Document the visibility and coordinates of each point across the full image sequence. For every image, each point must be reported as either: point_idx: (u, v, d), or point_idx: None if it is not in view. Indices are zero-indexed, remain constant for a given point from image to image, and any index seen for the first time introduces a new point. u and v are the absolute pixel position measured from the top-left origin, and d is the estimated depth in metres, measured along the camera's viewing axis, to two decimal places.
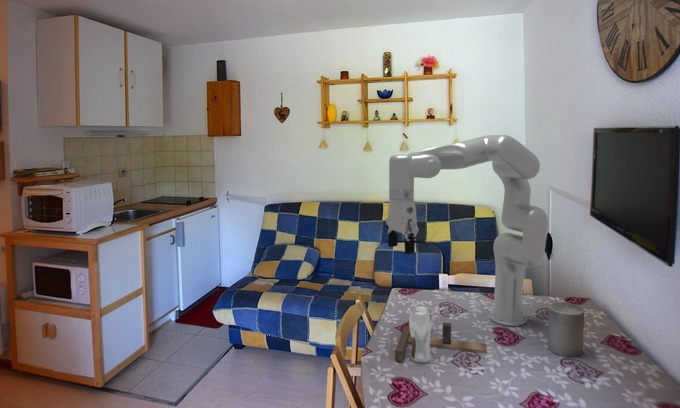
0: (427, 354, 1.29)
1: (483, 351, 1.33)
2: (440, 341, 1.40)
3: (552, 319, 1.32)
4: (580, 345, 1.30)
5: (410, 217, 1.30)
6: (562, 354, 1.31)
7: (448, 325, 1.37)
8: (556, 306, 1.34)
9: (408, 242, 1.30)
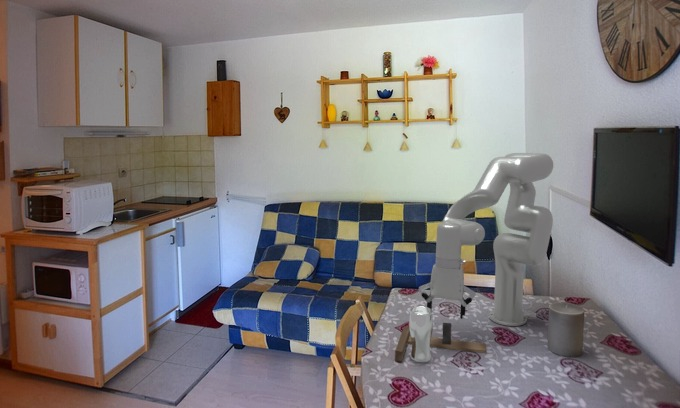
0: (427, 354, 1.29)
1: (483, 351, 1.33)
2: (440, 341, 1.40)
3: (552, 319, 1.32)
4: (580, 345, 1.30)
5: (463, 283, 1.34)
6: (562, 354, 1.31)
7: (448, 325, 1.37)
8: (556, 306, 1.34)
9: (464, 307, 1.34)
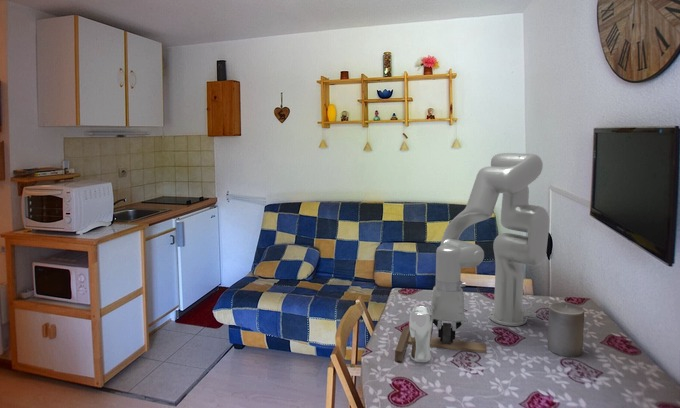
0: (427, 354, 1.29)
1: (483, 351, 1.33)
2: (440, 341, 1.40)
3: (552, 319, 1.32)
4: (580, 345, 1.30)
5: None
6: (562, 354, 1.31)
7: (448, 325, 1.37)
8: (556, 306, 1.34)
9: (454, 331, 1.37)
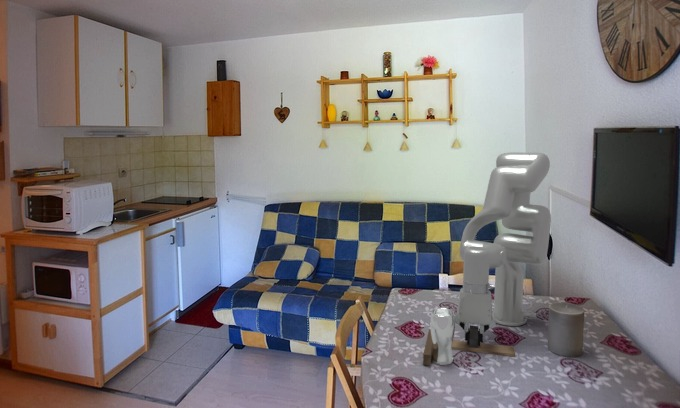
0: (449, 356, 1.27)
1: (512, 354, 1.31)
2: (466, 344, 1.37)
3: (552, 319, 1.32)
4: (580, 345, 1.30)
5: None
6: (562, 354, 1.31)
7: (475, 328, 1.35)
8: (556, 306, 1.34)
9: (481, 334, 1.34)
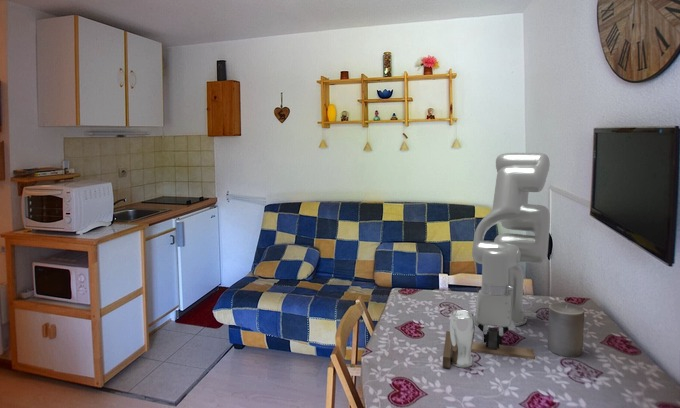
0: (469, 359, 1.26)
1: (532, 357, 1.29)
2: (485, 346, 1.36)
3: (552, 319, 1.32)
4: (580, 345, 1.30)
5: None
6: (562, 354, 1.31)
7: (494, 330, 1.33)
8: (556, 306, 1.34)
9: (500, 336, 1.33)
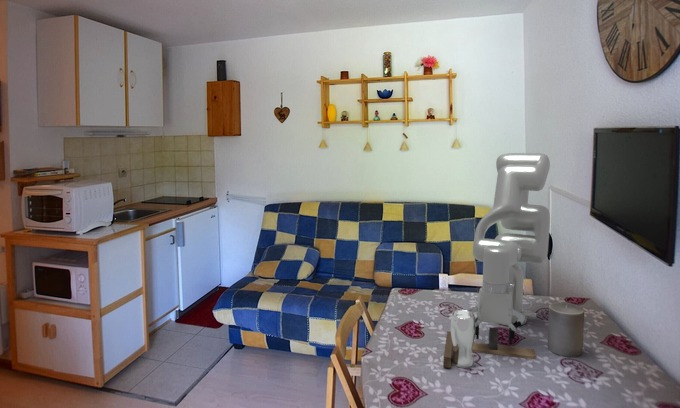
0: (470, 359, 1.25)
1: (532, 357, 1.29)
2: (486, 346, 1.36)
3: (552, 319, 1.32)
4: (580, 345, 1.30)
5: None
6: (562, 354, 1.31)
7: (495, 330, 1.33)
8: (556, 306, 1.34)
9: (513, 331, 1.32)
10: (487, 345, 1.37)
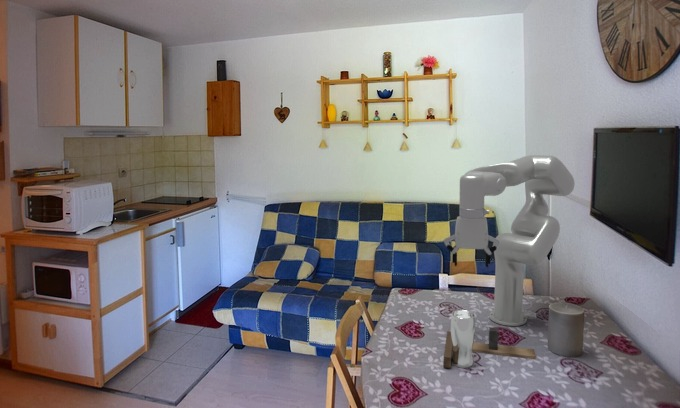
0: (470, 359, 1.25)
1: (532, 357, 1.29)
2: (486, 346, 1.36)
3: (552, 319, 1.32)
4: (580, 345, 1.30)
5: None
6: (562, 354, 1.31)
7: (495, 330, 1.33)
8: (556, 306, 1.34)
9: (489, 255, 1.38)
10: (487, 345, 1.37)
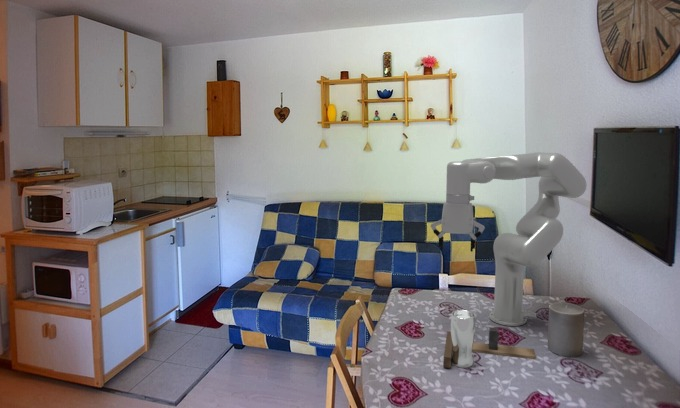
0: (470, 359, 1.25)
1: (532, 357, 1.29)
2: (486, 346, 1.36)
3: (552, 319, 1.32)
4: (580, 345, 1.30)
5: None
6: (562, 354, 1.31)
7: (495, 330, 1.33)
8: (556, 306, 1.34)
9: (474, 240, 1.43)
10: (487, 345, 1.37)
